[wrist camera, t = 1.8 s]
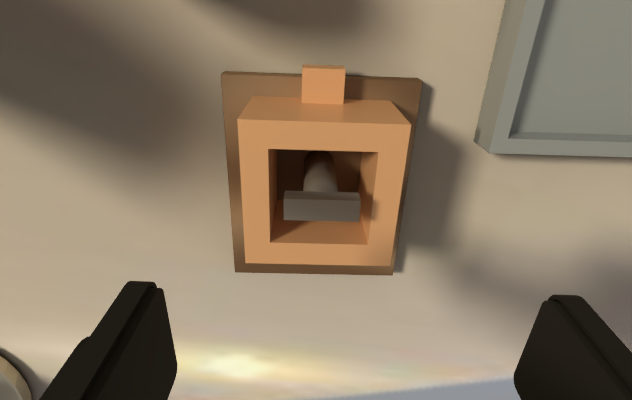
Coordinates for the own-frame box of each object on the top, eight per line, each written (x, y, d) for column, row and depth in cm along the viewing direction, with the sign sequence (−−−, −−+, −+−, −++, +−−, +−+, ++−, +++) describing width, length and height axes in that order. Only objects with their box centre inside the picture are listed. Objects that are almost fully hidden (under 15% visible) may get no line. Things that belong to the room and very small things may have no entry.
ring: (375, 220, 23) (390, 266, 19) (256, 217, 22) (245, 263, 18) (394, 67, 19) (417, 84, 15) (251, 62, 19) (235, 77, 15)
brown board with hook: (389, 265, 25) (413, 342, 20) (237, 262, 25) (216, 339, 19) (417, 78, 20) (461, 106, 14) (224, 71, 20) (189, 98, 14)
